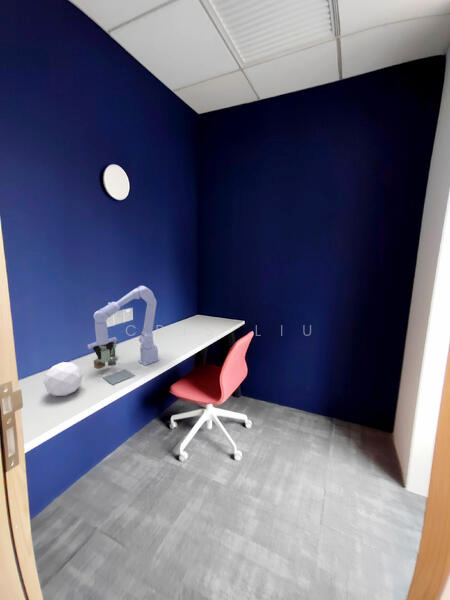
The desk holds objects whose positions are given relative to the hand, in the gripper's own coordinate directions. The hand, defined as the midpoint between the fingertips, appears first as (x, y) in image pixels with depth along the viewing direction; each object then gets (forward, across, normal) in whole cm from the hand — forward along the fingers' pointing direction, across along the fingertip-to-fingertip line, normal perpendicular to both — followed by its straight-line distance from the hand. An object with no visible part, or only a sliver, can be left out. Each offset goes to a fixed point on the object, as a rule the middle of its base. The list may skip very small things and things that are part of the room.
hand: (104, 357), depth 136 cm
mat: (+7, -1, +13) cm, 15 cm away
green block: (+2, 0, 0) cm, 2 cm away
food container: (+8, -9, -13) cm, 17 cm away
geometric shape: (+8, +22, +8) cm, 25 cm away
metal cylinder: (+7, -6, -4) cm, 10 cm away
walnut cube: (+7, 0, -6) cm, 10 cm away
